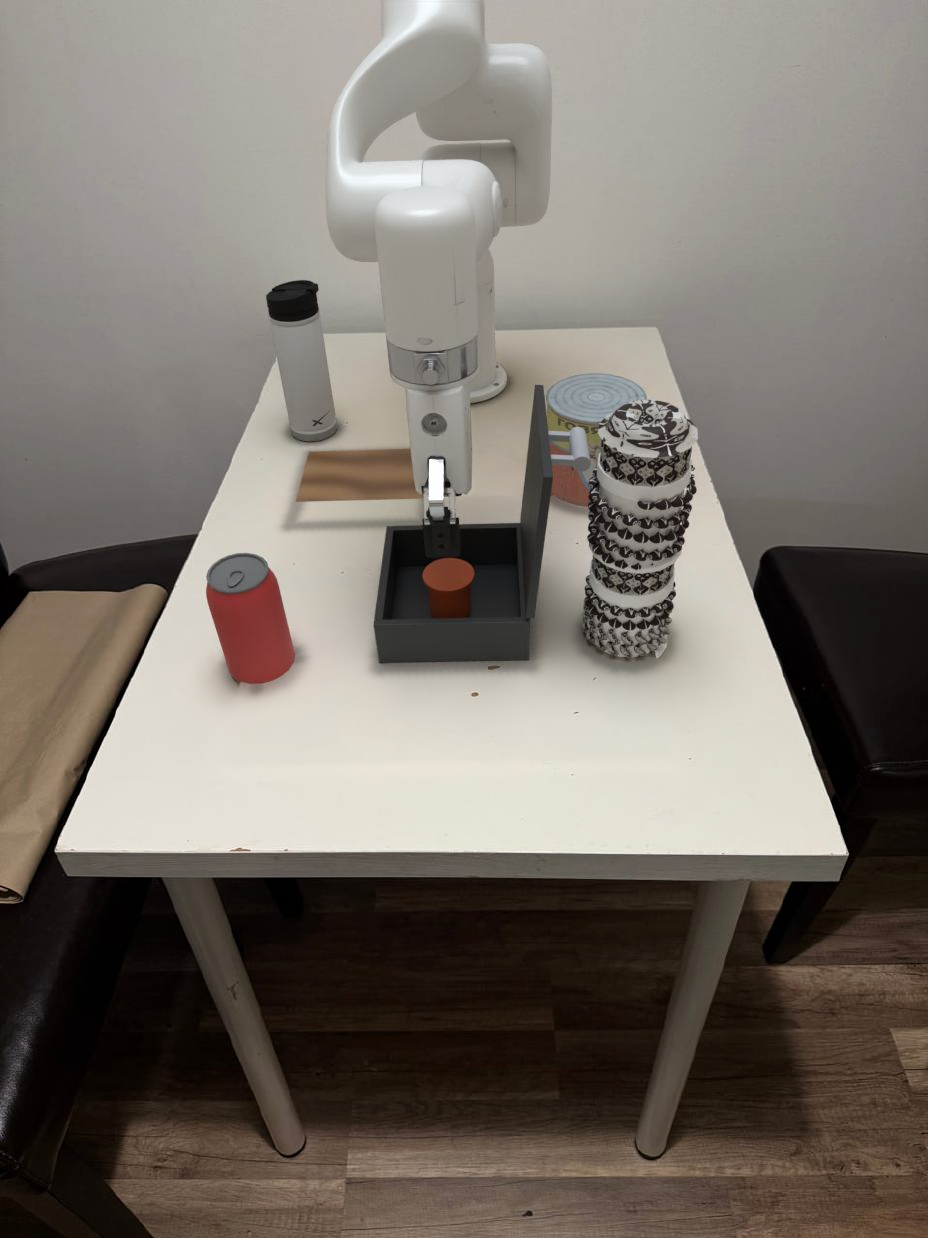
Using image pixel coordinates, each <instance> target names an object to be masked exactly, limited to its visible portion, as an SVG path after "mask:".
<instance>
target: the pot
mask: <svg viewBox="0 0 928 1238" xmlns="http://www.w3.org/2000/svg"><path fill="white" fill-rule="evenodd" d="M474 577H475V573H474V569H473V567H472V566H471V565H470V564H469V563H468V562H466V561H464V560H461V559H457V558H443V559H439V560H436V561H434V562H432V563H430V564H429V565H428V566H427V567H426V568H425V569H424V571H423V582H424V584H425V585H426V586H427V587H428V597H429V608H430V613H431V615H432V616H433V617H434V618H436V619H438V618H466V617H467V616H468V615H469V614H470V613H471V610H472V595H471V584H472V583H473V581H474Z"/></svg>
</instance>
